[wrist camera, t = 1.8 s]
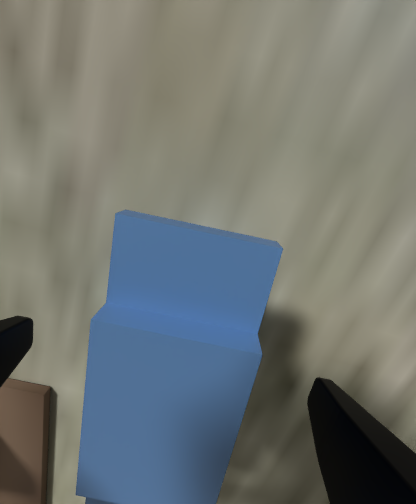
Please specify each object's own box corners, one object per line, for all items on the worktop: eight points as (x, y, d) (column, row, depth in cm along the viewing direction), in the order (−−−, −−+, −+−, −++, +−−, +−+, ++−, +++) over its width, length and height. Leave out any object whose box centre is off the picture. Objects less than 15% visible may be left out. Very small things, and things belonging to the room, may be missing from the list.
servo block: (138, 379, 13) (71, 545, 7) (167, 195, 10) (99, 218, 4) (206, 393, 13) (195, 569, 7) (252, 213, 10) (292, 258, 5)
